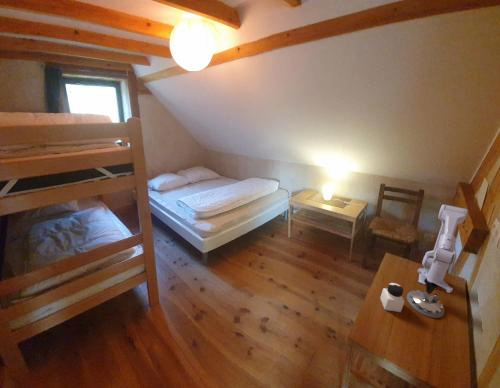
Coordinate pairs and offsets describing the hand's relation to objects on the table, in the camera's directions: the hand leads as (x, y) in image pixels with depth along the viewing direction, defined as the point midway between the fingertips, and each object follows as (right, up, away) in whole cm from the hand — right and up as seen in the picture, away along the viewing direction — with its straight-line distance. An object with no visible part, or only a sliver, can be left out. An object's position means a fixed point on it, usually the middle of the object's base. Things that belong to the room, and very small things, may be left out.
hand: (428, 292), depth 113 cm
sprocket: (-3, -4, -1) cm, 5 cm away
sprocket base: (-3, -6, -1) cm, 6 cm away
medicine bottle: (-20, -6, -1) cm, 21 cm away
